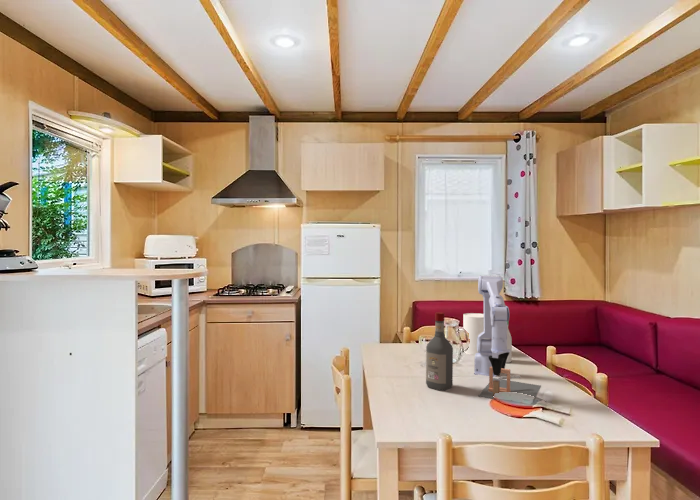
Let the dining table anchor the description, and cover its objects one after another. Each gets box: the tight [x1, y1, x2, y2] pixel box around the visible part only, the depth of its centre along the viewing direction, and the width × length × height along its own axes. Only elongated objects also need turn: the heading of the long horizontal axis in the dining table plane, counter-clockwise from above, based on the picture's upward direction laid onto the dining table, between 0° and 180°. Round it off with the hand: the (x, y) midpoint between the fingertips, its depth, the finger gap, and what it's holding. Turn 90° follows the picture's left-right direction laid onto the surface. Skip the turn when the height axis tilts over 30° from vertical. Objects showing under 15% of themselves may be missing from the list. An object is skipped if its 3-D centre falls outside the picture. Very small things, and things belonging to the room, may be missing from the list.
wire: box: [493, 374, 521, 396], centre depth 170 cm, size 7×16×6 cm, turn 149°
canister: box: [462, 312, 485, 357], centre depth 233 cm, size 14×14×20 cm
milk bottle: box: [506, 321, 513, 364], centre depth 216 cm, size 8×8×20 cm
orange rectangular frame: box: [488, 367, 511, 392], centre depth 171 cm, size 4×8×9 cm, turn 59°
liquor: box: [425, 311, 454, 392], centre depth 177 cm, size 9×9×30 cm
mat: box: [477, 377, 542, 400], centre depth 172 cm, size 19×25×1 cm
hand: (499, 372), depth 170 cm, fingers open, 7 cm apart
